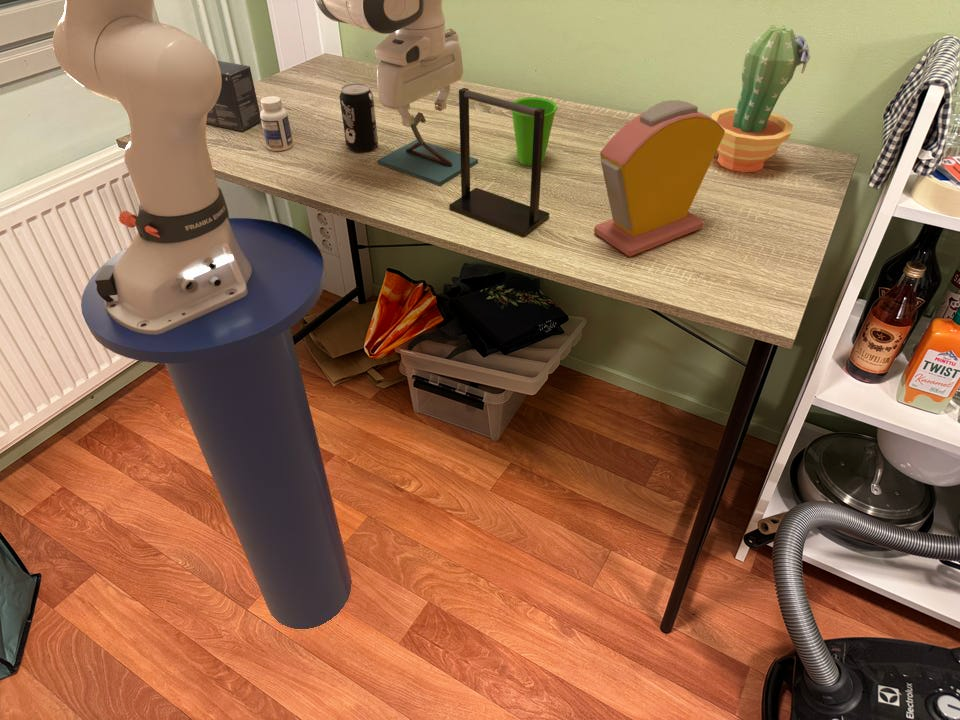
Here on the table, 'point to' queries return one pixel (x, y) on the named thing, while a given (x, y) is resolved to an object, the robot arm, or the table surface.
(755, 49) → the potted cactus
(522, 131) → the cup
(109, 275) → the robot arm
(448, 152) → the mat
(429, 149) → the hanger
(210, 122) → the small box
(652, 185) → the yellow fan-shaped flat fixture
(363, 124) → the beverage can
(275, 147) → the pill bottle
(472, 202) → the rack
